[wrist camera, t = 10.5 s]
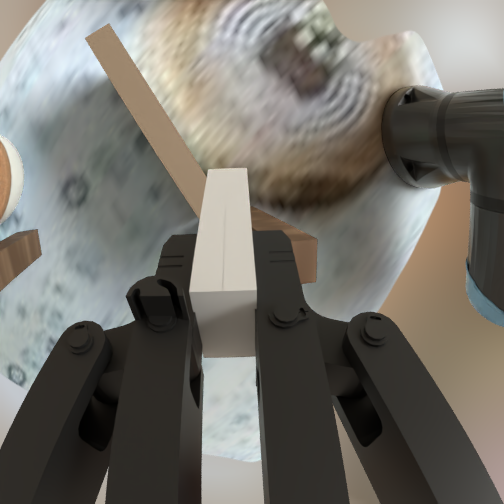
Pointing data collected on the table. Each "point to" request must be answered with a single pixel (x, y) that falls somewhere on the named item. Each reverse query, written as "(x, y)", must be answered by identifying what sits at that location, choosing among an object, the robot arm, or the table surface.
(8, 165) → the lidded jar
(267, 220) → the gate posts
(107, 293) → the table surface
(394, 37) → the table surface
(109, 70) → the gate
